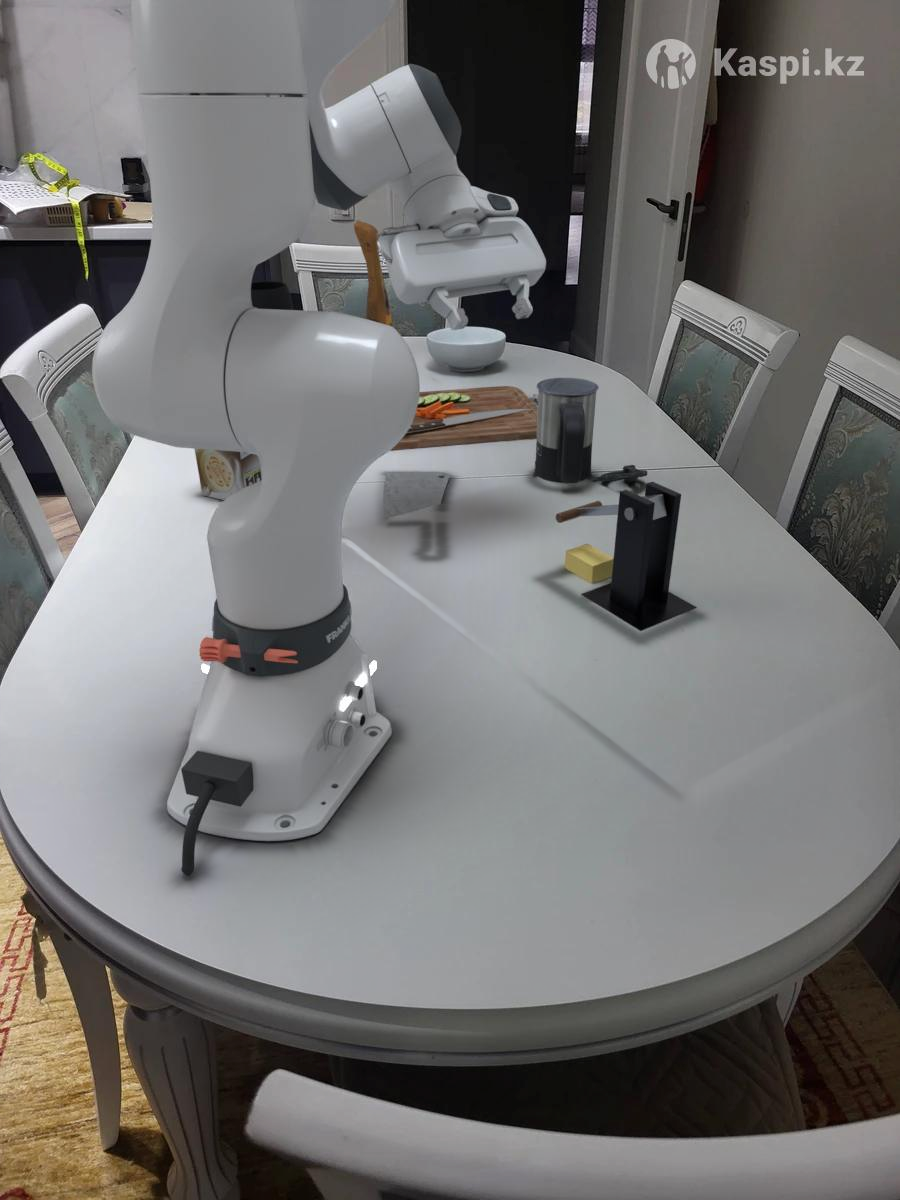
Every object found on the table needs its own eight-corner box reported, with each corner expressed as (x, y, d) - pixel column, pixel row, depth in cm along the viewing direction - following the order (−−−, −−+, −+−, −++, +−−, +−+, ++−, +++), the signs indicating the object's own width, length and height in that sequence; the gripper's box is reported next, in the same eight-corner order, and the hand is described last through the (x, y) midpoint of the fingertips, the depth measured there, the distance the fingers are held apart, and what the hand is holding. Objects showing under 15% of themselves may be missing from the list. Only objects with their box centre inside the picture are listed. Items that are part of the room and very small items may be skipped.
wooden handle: (369, 364, 197) (362, 228, 183) (360, 343, 213) (352, 216, 199) (399, 362, 198) (394, 226, 184) (388, 341, 214) (382, 215, 200)
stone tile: (369, 558, 116) (446, 557, 116) (369, 554, 116) (446, 554, 115) (386, 473, 141) (449, 473, 141) (386, 470, 141) (449, 470, 141)
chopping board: (528, 390, 179) (529, 375, 177) (572, 435, 156) (573, 418, 154) (303, 407, 171) (301, 391, 169) (314, 456, 148) (312, 438, 146)
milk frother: (523, 471, 141) (526, 379, 134) (611, 459, 146) (619, 369, 138) (561, 506, 130) (567, 407, 122) (656, 491, 134) (668, 395, 127)
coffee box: (274, 491, 135) (262, 387, 127) (247, 506, 131) (233, 399, 123) (227, 481, 139) (212, 379, 131) (199, 495, 134) (182, 391, 126)
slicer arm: (557, 528, 107) (553, 508, 107) (598, 515, 110) (594, 496, 110) (638, 525, 95) (633, 503, 95) (680, 510, 98) (677, 489, 98)
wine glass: (240, 392, 179) (226, 289, 169) (263, 378, 188) (252, 279, 178) (286, 396, 177) (276, 292, 167) (309, 382, 185) (299, 281, 175)
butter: (564, 569, 111) (565, 550, 110) (585, 561, 113) (587, 543, 111) (591, 585, 107) (592, 566, 106) (612, 577, 109) (614, 558, 108)
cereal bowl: (513, 360, 198) (514, 328, 195) (493, 381, 185) (494, 346, 181) (441, 354, 203) (440, 323, 199) (416, 374, 189) (415, 341, 186)
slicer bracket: (579, 602, 106) (588, 487, 98) (635, 581, 110) (647, 469, 103) (639, 640, 99) (654, 518, 91) (696, 616, 103) (714, 498, 95)
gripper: (379, 210, 99) (429, 317, 97) (525, 197, 109) (573, 293, 106) (362, 248, 104) (409, 349, 102) (502, 232, 114) (547, 324, 112)
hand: (494, 321), depth 104 cm, fingers open, 8 cm apart
